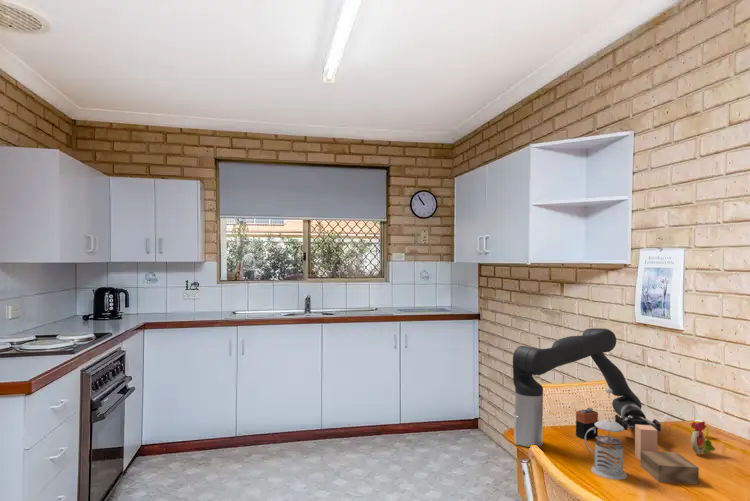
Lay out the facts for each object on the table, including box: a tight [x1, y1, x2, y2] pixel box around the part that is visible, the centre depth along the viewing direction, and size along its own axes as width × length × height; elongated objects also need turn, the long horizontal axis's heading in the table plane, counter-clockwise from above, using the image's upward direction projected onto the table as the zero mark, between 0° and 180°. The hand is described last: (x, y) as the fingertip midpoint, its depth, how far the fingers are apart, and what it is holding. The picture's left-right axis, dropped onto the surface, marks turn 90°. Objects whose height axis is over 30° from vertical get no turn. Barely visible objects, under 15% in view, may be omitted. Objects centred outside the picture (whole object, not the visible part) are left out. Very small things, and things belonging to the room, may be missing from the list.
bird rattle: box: [689, 420, 716, 456], centre depth 160 cm, size 6×11×9 cm
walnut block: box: [640, 451, 700, 485], centre depth 143 cm, size 11×11×5 cm
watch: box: [689, 419, 710, 438], centre depth 177 cm, size 6×3×6 cm, turn 25°
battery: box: [575, 407, 599, 440], centre depth 174 cm, size 4×7×10 cm, turn 115°
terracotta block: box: [634, 424, 659, 462], centre depth 155 cm, size 5×5×10 cm
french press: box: [584, 387, 628, 481], centre depth 144 cm, size 10×12×25 cm
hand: (640, 429), depth 165 cm, fingers open, 8 cm apart
